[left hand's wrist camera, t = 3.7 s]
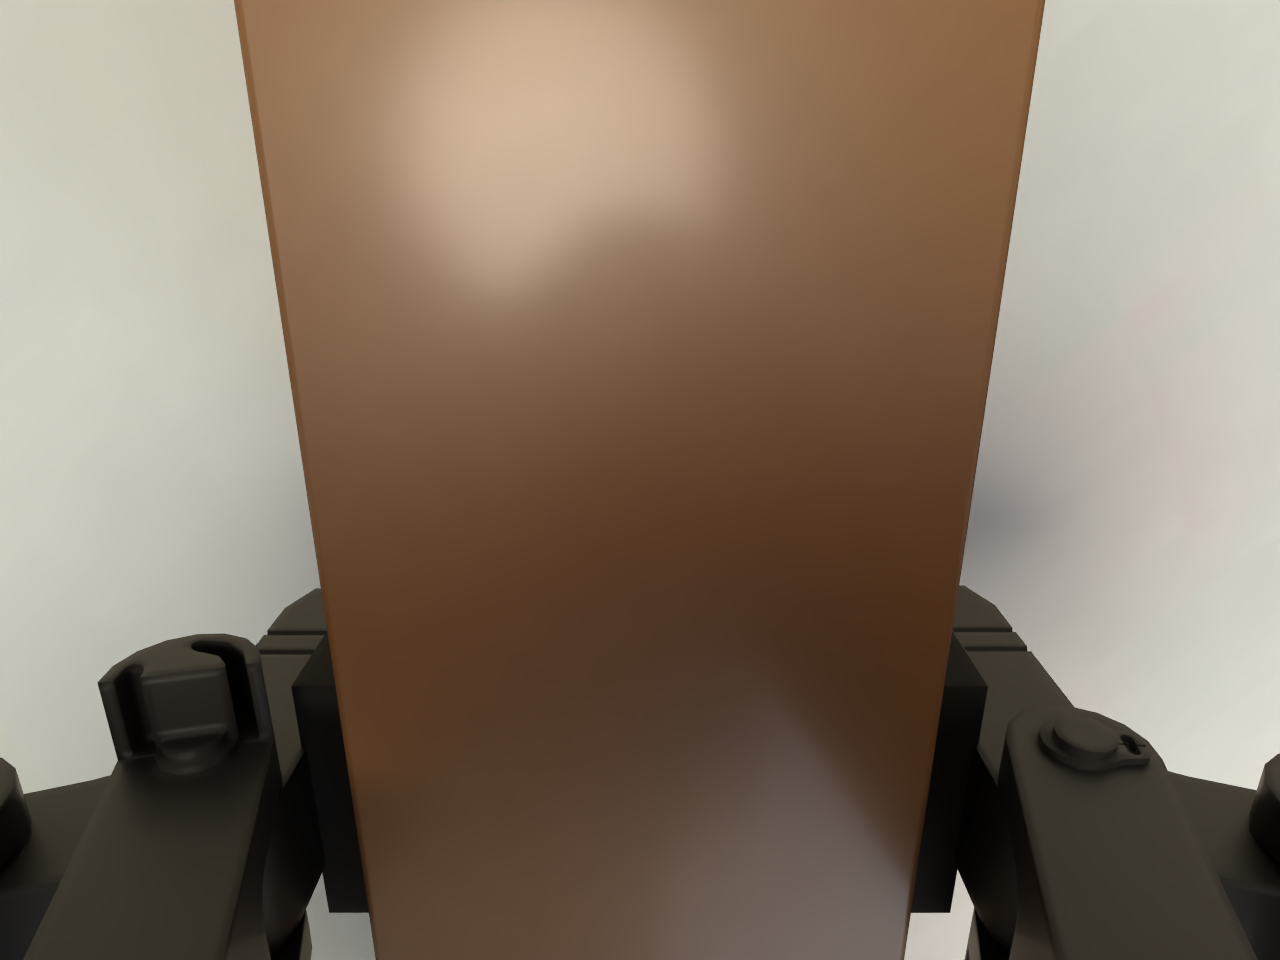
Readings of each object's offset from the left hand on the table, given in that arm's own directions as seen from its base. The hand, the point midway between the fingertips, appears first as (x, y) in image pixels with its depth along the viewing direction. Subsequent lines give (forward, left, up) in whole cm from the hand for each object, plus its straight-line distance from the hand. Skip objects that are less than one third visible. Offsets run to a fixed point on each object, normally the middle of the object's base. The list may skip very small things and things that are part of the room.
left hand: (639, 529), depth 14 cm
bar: (+11, +3, -1) cm, 12 cm away
